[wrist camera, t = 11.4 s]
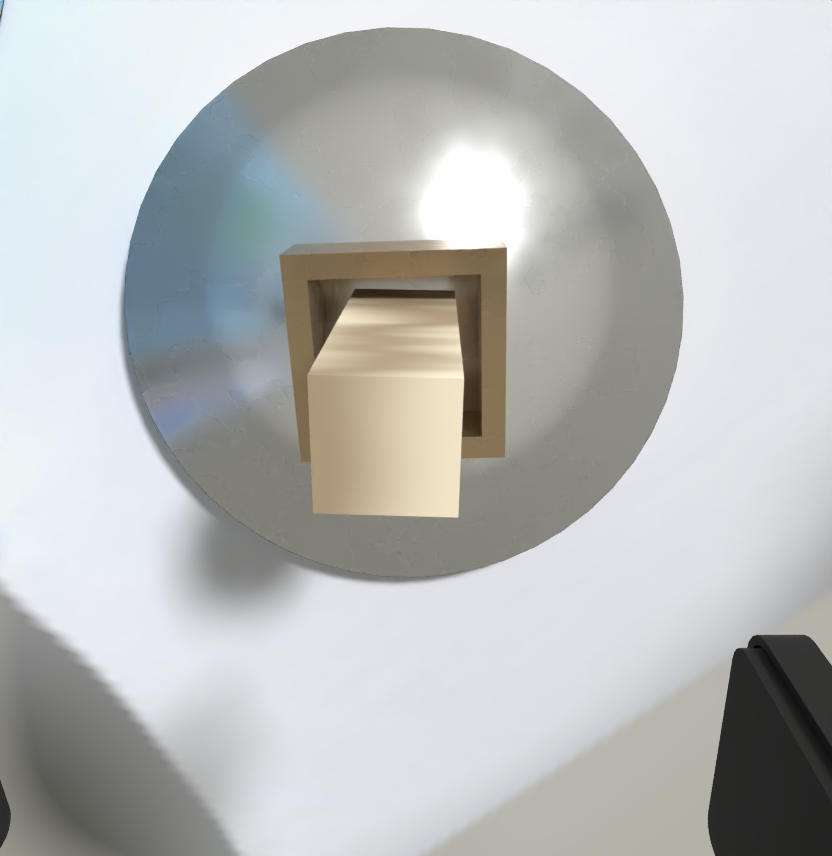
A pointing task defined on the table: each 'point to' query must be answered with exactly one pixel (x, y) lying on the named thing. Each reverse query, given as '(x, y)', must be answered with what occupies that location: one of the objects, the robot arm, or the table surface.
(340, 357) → the tan block
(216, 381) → the rosette plate
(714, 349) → the table surface
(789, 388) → the table surface
